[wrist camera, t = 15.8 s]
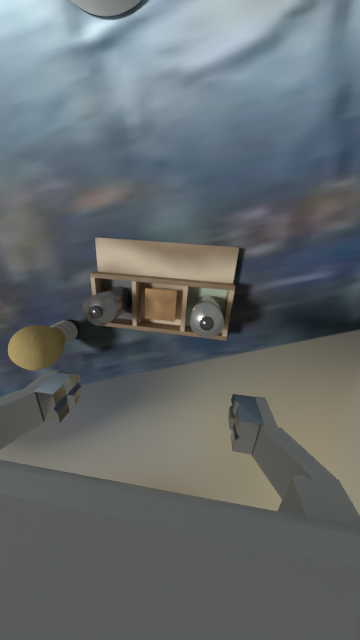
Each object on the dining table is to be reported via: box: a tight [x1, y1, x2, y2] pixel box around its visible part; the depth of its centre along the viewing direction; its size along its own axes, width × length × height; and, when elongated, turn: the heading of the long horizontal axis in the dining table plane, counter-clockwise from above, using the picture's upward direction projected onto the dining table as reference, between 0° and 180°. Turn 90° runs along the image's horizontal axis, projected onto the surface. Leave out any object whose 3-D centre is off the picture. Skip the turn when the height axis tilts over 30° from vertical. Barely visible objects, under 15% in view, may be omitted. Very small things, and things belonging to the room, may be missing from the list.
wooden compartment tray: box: [90, 238, 239, 340], centre depth 27 cm, size 13×20×3 cm, turn 86°
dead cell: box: [83, 286, 132, 326], centre depth 25 cm, size 4×4×7 cm
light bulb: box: [8, 320, 78, 370], centre depth 29 cm, size 6×6×10 cm
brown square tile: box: [145, 287, 178, 322], centre depth 27 cm, size 5×5×1 cm
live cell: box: [190, 295, 224, 338], centre depth 24 cm, size 4×4×7 cm
